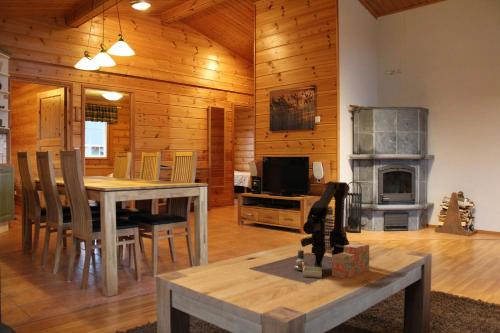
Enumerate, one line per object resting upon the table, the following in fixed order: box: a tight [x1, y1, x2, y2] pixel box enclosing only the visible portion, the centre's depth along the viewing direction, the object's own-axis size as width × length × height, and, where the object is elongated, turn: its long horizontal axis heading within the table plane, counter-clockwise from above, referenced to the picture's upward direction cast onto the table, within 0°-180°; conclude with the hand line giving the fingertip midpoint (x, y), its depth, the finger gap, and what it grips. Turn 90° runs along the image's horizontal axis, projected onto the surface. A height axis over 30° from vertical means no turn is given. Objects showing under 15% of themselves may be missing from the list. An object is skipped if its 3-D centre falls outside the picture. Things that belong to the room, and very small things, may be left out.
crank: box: [295, 249, 305, 266], centre depth 205 cm, size 11×3×5 cm, turn 170°
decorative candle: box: [325, 205, 334, 253], centre depth 244 cm, size 9×9×25 cm
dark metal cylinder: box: [313, 256, 323, 268], centre depth 203 cm, size 4×4×7 cm
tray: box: [302, 265, 323, 279], centre depth 193 cm, size 8×8×2 cm
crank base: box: [292, 261, 307, 272], centre depth 201 cm, size 6×6×4 cm
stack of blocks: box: [331, 242, 370, 279], centre depth 197 cm, size 21×6×12 cm, turn 135°
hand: (318, 264), depth 203 cm, fingers closed on dark metal cylinder, 4 cm apart
